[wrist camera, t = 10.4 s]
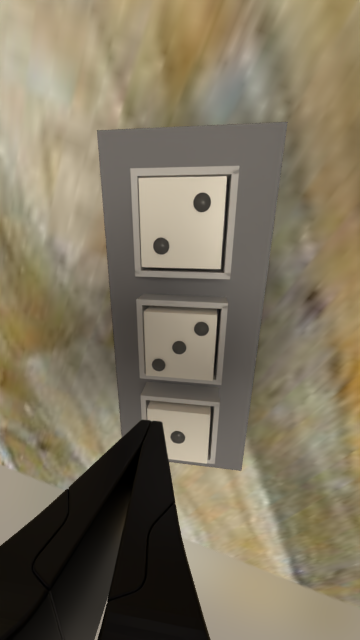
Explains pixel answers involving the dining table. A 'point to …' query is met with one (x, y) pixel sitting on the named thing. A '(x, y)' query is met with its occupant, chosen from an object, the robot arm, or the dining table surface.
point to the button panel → (188, 283)
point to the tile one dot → (183, 429)
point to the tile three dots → (180, 342)
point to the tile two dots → (182, 221)
